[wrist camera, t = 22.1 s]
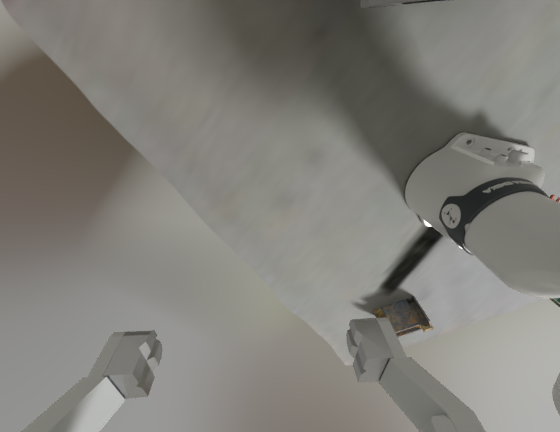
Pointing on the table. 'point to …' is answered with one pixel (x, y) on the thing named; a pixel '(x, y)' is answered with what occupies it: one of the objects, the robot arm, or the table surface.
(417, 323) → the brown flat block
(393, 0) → the alarm clock
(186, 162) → the table surface
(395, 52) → the table surface
